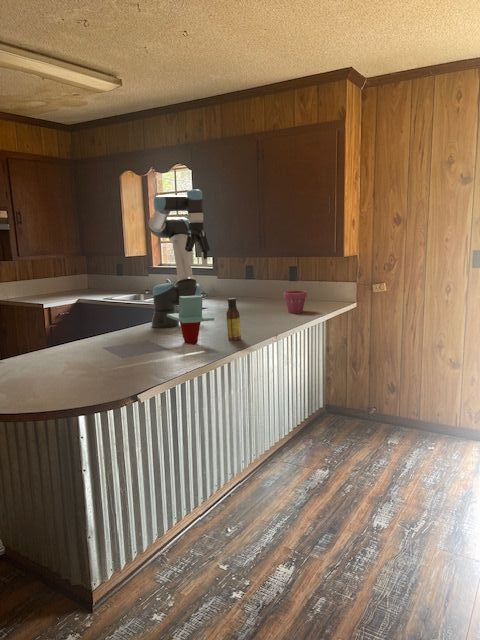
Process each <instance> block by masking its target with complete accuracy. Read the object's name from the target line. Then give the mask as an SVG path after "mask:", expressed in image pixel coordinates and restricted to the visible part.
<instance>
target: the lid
mask: <svg viewBox="0 0 480 640" xmlns="http://www.w3.org/2000/svg"><path fill="white" fill-rule="evenodd" d="M203 299H204V297H203V296H202V295H201V296H179V306H178V312H176V313H174V314H167V317H169V318H172V319H174V320H177V321H179V323H180V322H182V323H191V322H201V323H202V322H210V321H211V322H212V321H215V317H213V316H210V315H208V314H204V313H203Z"/></svg>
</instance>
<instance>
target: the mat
mask: <svg viewBox="0 0 480 640" xmlns="http://www.w3.org/2000/svg"><path fill="white" fill-rule="evenodd" d="M103 349H104V350H105V351H108V352H110V353H112V354H113V355H116V356H118V357H119V358H122V359H126V358H129V357H137V356H142V355H146V354H147V355H148V354H152V353H157V352H159V353H160V352H164V351H169V350H171V348H168V347H166V346H163V345H160V344H157V343H155V342H152V341H150V340H148V339H147V340H142V341H134V342H128V343H124V344H118V345H111V346H105V347H104V346H103Z"/></svg>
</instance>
